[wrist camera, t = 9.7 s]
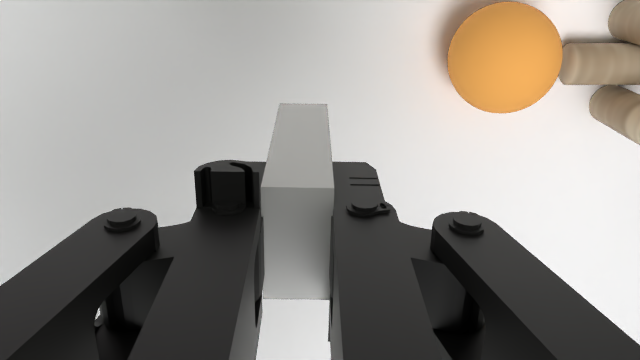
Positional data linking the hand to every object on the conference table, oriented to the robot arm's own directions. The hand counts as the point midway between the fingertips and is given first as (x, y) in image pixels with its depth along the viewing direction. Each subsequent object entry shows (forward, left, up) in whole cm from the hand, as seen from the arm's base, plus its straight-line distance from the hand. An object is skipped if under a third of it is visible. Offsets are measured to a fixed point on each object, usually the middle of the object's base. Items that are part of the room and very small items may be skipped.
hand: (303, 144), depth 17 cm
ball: (+11, +1, -13) cm, 17 cm away
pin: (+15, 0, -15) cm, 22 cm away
